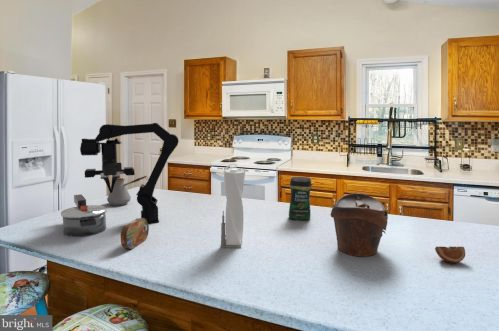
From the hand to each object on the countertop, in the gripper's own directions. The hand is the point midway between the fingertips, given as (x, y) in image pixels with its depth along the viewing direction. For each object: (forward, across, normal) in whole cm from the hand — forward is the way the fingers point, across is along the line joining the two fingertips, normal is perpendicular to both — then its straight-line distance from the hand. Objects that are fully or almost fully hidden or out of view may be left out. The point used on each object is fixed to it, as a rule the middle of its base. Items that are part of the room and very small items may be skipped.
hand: (111, 192), depth 143 cm
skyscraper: (+13, +39, -41) cm, 58 cm away
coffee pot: (+13, +8, +32) cm, 36 cm away
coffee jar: (+13, +77, -22) cm, 81 cm away
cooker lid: (+6, -11, -2) cm, 13 cm away
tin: (+13, +7, -29) cm, 33 cm away
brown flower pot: (+13, +76, -62) cm, 99 cm away
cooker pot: (+13, -10, -4) cm, 17 cm away
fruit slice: (+13, +96, -80) cm, 126 cm away
